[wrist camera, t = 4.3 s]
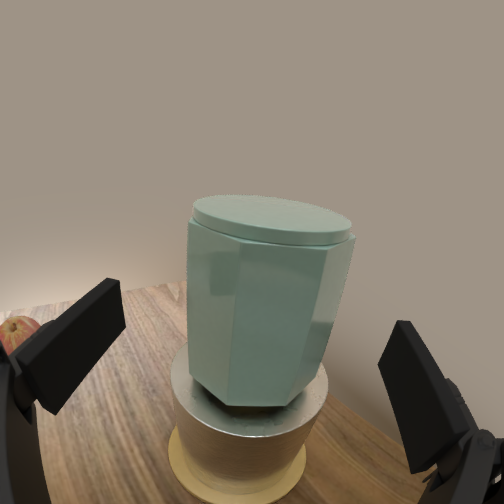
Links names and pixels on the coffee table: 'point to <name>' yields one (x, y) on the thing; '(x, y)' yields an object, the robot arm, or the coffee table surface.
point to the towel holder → (239, 440)
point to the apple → (16, 332)
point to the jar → (262, 294)
